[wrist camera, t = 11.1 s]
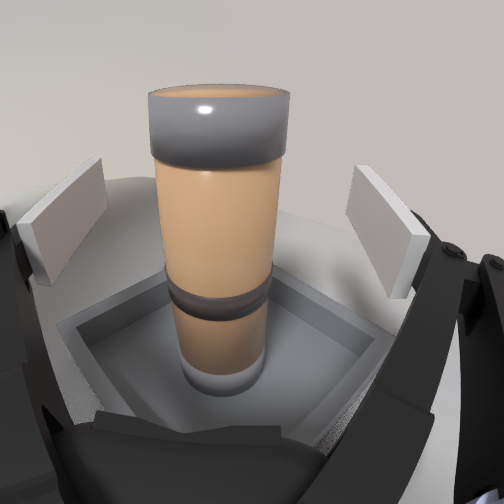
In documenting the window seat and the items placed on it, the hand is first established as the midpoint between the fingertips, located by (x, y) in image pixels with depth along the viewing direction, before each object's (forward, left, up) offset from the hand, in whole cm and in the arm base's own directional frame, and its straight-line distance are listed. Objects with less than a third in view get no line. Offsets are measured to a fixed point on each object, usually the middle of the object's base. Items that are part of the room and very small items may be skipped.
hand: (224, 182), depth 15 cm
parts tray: (+2, -2, -10) cm, 11 cm away
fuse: (+2, -2, -9) cm, 10 cm away
